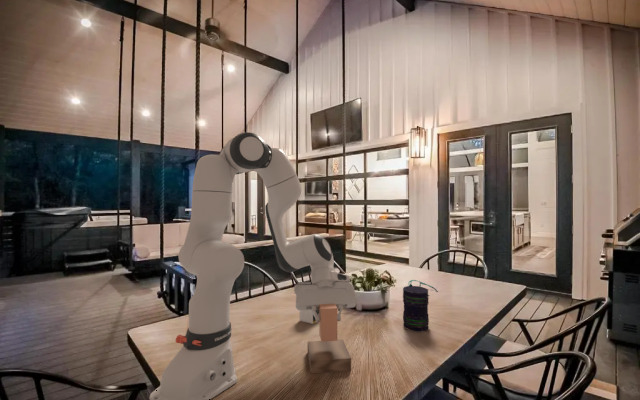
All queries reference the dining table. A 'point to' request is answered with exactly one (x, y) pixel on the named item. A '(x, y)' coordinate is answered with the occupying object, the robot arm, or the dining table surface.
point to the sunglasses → (420, 284)
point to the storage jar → (415, 308)
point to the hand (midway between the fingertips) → (328, 321)
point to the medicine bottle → (308, 316)
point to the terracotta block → (328, 322)
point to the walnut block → (328, 356)
